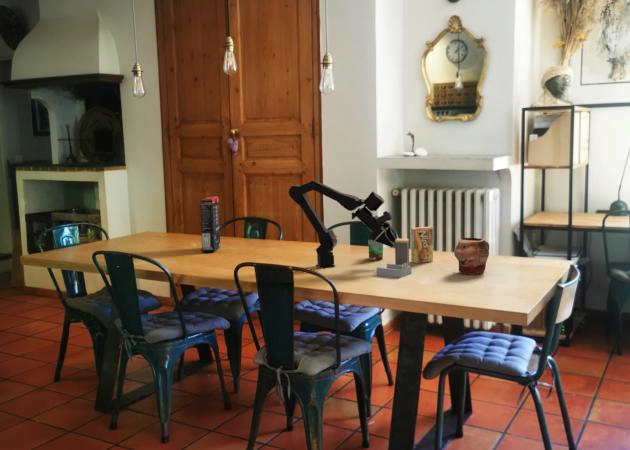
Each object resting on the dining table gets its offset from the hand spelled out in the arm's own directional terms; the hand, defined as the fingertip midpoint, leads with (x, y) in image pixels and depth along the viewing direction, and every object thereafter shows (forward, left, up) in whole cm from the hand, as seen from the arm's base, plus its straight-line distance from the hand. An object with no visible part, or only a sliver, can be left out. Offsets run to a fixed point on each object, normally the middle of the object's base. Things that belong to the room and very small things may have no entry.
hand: (394, 244), depth 280 cm
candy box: (+17, +5, -11) cm, 21 cm away
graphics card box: (-53, +92, -11) cm, 107 cm away
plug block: (+2, -2, -10) cm, 11 cm away
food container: (+4, +21, -11) cm, 24 cm away
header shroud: (-7, -9, -10) cm, 15 cm away
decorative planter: (+22, -24, -11) cm, 34 cm away
